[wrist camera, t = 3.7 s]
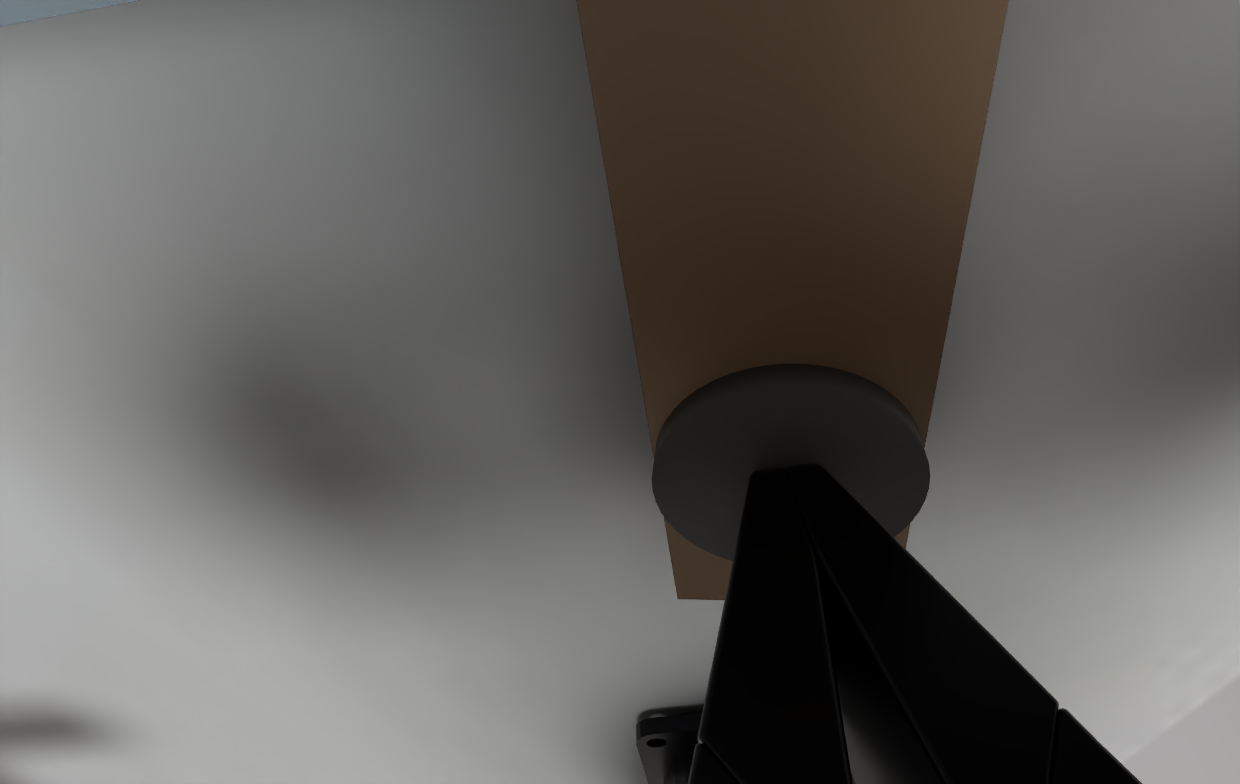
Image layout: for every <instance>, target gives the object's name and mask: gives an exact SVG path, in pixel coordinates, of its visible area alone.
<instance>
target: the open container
mask: <svg viewBox="0 0 1240 784" xmlns="http://www.w3.org/2000/svg"><path fill="white" fill-rule="evenodd" d="M134 1H140V0H0V26H5V25H10V24H16V23H21V22H26V21H32V20H37V19H43V18H48V17H53V16H59V15H64V14H69V13H75V12H80V11H86V10H91V9H96V8H102V7H107V6H113V5H118V4H123V3H129V2H134Z"/></svg>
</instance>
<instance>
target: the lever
mask: <svg viewBox="0 0 1240 784" xmlns="http://www.w3.org/2000/svg"><path fill="white" fill-rule="evenodd" d="M577 6H578V12H579V18H580V24H581V30H582V36H583V42H584V48H585V54H586V60H587V65H588V71H589V77H590V83H591V89H592V95H593V101H594V107H595V113H596V119H597V125H598V130H599V136H600V142H601V148H602V154H603V160H604V166H605V172H606V178H607V184H608V190H609V195H610V201H611V207H612V213H613V219H614V225H615V231H616V237H617V243H618V249H619V255H620V261H621V266H622V272H623V278H624V284H625V290H626V296H627V302H628V308H629V314H630V320H631V326H632V331H633V337H634V343H635V349H636V355H637V361H638V367H639V373H640V379H641V385H642V391H643V396H644V402H645V408H646V414H647V420H648V426H649V432H650V438H651V444H652V450H653V456H654V465H653V473H652V487H653V493H654V497H655V500H656V503H657V505H658V507H659V509H660V511H661V513H662V514H663V516H664V521H665V526H666V532H667V538H668V544H669V550H670V556H671V562H672V568H673V574H674V580H675V586H676V591H677V597H678V599H700V600H725V597H726V592H727V587H728V582H729V577H730V572H731V567H732V562H733V557H734V552H735V547H736V542H737V537H738V532H739V527H740V522H741V517H742V512H743V507H744V502H745V497H746V492H747V487H748V482H749V478H750V475H751V473H752V472H754V471H758V470H766V469H774V468H782V469H784V470H785V469H786V468H788V467H790V466H798V465H807V464H819V465H821V466H822V467H824V468H825V469H826V470H827V471H828V472H829V473H830V474H831V475H832V476H833V477H834V478H835V479H836V480H837V481H838V482H839V483H840V484H841V485H842V486H843V487H844V488H845V489H846V490H847V491H848V492H849V493H850V494H851V495H852V496H853V497H854V498H855V499H856V500H857V501H858V502H859V503H860V504H861V505H862V506H863V507H864V508H865V509H866V510H867V511H868V512H869V513H870V514H871V515H872V516H873V517H874V518H875V519H876V520H877V521H878V522H879V523H880V524H881V525H882V526H883V527H884V528H885V529H886V530H887V531H888V532H889V533H890V534H891V535H892V536H893V537H894V538H895V539H896V540H897V541H898V542H899V543H900V544H901V545H902V546H903V547H904V548H906V543H907V538H908V532H909V527H910V523H911V522H912V520H913V519H914V518H915V516H916V515H917V514H918V512H919V511H920V509H921V507H922V505H923V503H924V501H925V499H926V496H927V492H928V489H929V481H930V471H929V463H928V459H927V456H926V453H925V449H924V447H925V442H926V437H927V431H928V426H929V421H930V415H931V410H932V405H933V399H934V394H935V389H936V383H937V378H938V373H939V367H940V362H941V357H942V351H943V346H944V341H945V336H946V330H947V325H948V320H949V314H950V309H951V304H952V298H953V293H954V288H955V282H956V277H957V272H958V266H959V261H960V256H961V250H962V245H963V240H964V234H965V229H966V224H967V218H968V213H969V208H970V202H971V197H972V192H973V186H974V181H975V176H976V171H977V165H978V160H979V155H980V149H981V144H982V139H983V133H984V128H985V123H986V117H987V112H988V107H989V101H990V96H991V91H992V85H993V80H994V75H995V69H996V64H997V59H998V53H999V48H1000V43H1001V37H1002V32H1003V27H1004V21H1005V16H1006V11H1007V6H1008V0H577Z"/></svg>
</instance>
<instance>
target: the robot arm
mask: <svg viewBox="0 0 1240 784" xmlns="http://www.w3.org/2000/svg"><path fill="white" fill-rule="evenodd" d="M1058 708H1059V704H1058V701H1057V700H1056V699H1055V698H1054V697H1053V696H1052V695H1051V694H1050V693H1049V692H1048V691H1047V690H1046V689H1045V688H1044V687H1043V686H1042V685H1041V684H1040V683H1039V682H1038V681H1037V680H1036V679H1035V678H1034V677H1033V676H1032V675H1031V674H1030V673H1029V672H1028V671H1027V670H1026V669H1025V668H1024V667H1023V666H1022V665H1021V664H1020V663H1019V662H1018V661H1017V660H1016V659H1015V658H1014V657H1013V656H1012V655H1011V654H1010V653H1009V652H1008V651H1007V650H1006V649H1005V648H1004V647H1003V646H1002V645H1001V644H1000V643H999V642H998V641H997V640H996V639H995V638H994V637H993V636H992V635H991V634H990V633H989V632H988V631H987V630H986V629H985V628H984V627H983V626H982V625H981V624H980V623H979V622H978V621H977V620H976V619H975V618H974V617H973V616H972V615H971V614H970V613H969V612H968V611H967V610H966V609H965V608H964V607H963V606H962V605H961V604H960V603H959V602H958V601H957V600H956V599H955V598H954V597H953V596H952V595H951V594H950V593H949V592H948V591H947V590H946V589H945V588H944V587H943V586H942V585H941V584H940V583H939V582H938V581H937V580H936V579H935V578H934V577H933V576H932V575H931V574H930V573H929V572H928V571H927V570H926V569H925V568H924V567H923V566H922V565H921V564H920V563H919V562H918V561H917V560H916V559H915V558H914V557H913V556H912V555H911V554H910V553H909V552H908V551H907V550H906V549H905V548H904V547H903V546H902V545H901V544H900V543H899V542H898V541H897V540H896V539H895V538H894V537H893V536H892V535H891V534H890V533H889V532H888V531H887V530H886V529H885V528H884V527H883V526H882V525H881V524H880V523H879V522H878V521H877V520H876V519H875V518H874V517H873V516H872V515H871V514H870V513H869V512H868V511H867V510H866V509H865V508H864V507H863V506H862V505H861V504H860V503H859V502H858V501H857V500H856V499H855V498H854V497H853V496H852V495H851V494H850V493H849V492H848V491H847V490H846V489H845V488H844V487H843V486H842V485H841V484H840V483H839V482H838V481H837V480H836V479H835V478H834V477H833V476H832V475H831V474H830V473H829V472H828V471H827V470H826V469H825V468H824V467H822V466H821V465H819V464H807V465H798V466H790V467H788V468H786V469H785V470H784V469H782V468H774V469H766V470H758V471H754V472H752V473H751V475H750V478H749V482H748V487H747V492H746V497H745V502H744V507H743V512H742V517H741V522H740V527H739V532H738V537H737V542H736V547H735V552H734V557H733V562H732V567H731V572H730V577H729V582H728V587H727V592H726V597H725V602H724V607H723V612H722V617H721V622H720V627H719V632H718V637H717V642H716V647H715V652H714V657H713V662H712V667H711V672H710V677H709V682H708V687H707V692H706V697H705V702H704V707H703V712H702V713H696V714H686V715H676V716H665V717H655V718H649V719H645V720H642V721H640V722H639V723H638V724H637V725H636V743H637V748H638V751H639V754H640V757H641V761H642V764H643V767H644V770H645V774H646V777H647V780H648V783H649V784H1142V783H1141V782H1140V781H1139V780H1138V779H1137V778H1136V777H1135V776H1134V775H1132V773H1130V771H1128V770H1127V769H1126V768H1125V767H1124V766H1123V765H1122V764H1121V763H1120V762H1119V761H1118V760H1117V759H1116V758H1115V757H1114V756H1113V755H1112V754H1111V753H1110V752H1109V751H1108V750H1106V749H1105V748H1104V747H1103V746H1102V745H1101V744H1100V743H1099V742H1098V741H1097V740H1096V739H1095V738H1094V737H1093V736H1092V735H1091V734H1090V733H1089V732H1088V731H1087V730H1086V729H1085V728H1084V727H1083V726H1082V725H1081V724H1080V723H1079V722H1078V721H1077V720H1076V719H1075V718H1074V717H1073V716H1072V715H1071V714H1070V713H1069V711H1067V710H1066V709H1063V708H1062V709H1059V710H1058Z"/></svg>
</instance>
